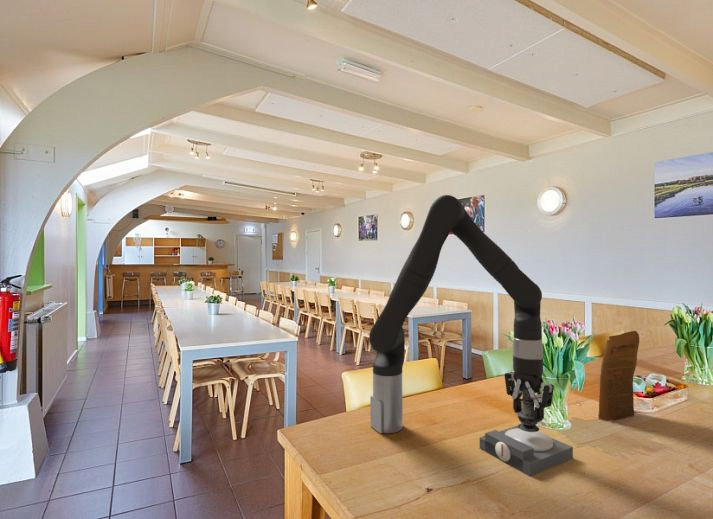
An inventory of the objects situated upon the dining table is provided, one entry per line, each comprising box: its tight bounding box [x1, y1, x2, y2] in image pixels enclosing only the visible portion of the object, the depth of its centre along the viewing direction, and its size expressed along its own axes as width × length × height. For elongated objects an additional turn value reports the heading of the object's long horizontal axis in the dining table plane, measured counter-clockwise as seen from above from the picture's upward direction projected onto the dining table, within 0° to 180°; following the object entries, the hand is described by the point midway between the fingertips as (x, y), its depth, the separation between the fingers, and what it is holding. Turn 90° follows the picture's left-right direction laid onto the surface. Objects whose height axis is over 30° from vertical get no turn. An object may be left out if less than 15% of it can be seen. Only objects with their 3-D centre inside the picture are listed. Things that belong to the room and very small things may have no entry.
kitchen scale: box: [479, 425, 574, 477], centre depth 105 cm, size 17×16×5 cm
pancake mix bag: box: [598, 330, 640, 421], centre depth 129 cm, size 7×19×28 cm, turn 112°
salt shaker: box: [516, 389, 540, 432], centre depth 106 cm, size 6×6×12 cm
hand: (528, 416), depth 106 cm, fingers closed on salt shaker, 6 cm apart
